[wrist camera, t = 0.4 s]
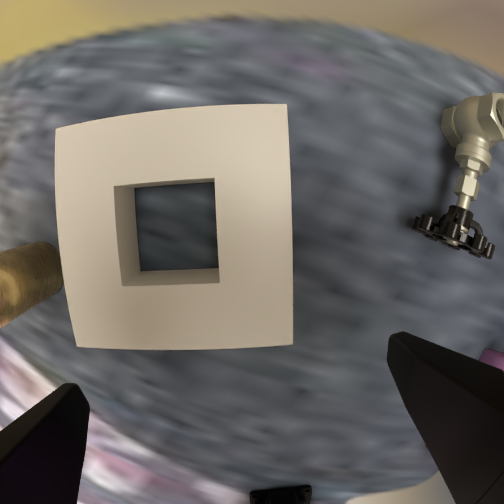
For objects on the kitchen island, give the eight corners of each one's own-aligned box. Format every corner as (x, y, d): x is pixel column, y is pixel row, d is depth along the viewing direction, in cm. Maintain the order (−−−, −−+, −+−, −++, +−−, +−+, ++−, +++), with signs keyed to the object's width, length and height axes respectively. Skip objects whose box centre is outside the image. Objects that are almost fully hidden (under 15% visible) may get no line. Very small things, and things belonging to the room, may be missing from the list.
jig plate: (283, 320, 22) (292, 344, 19) (98, 324, 22) (77, 346, 18) (277, 120, 20) (286, 104, 16) (82, 138, 19) (55, 128, 16)
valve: (429, 89, 20) (395, 223, 22) (478, 66, 14) (448, 233, 15) (482, 126, 21) (454, 250, 23) (532, 116, 15) (507, 266, 16)
